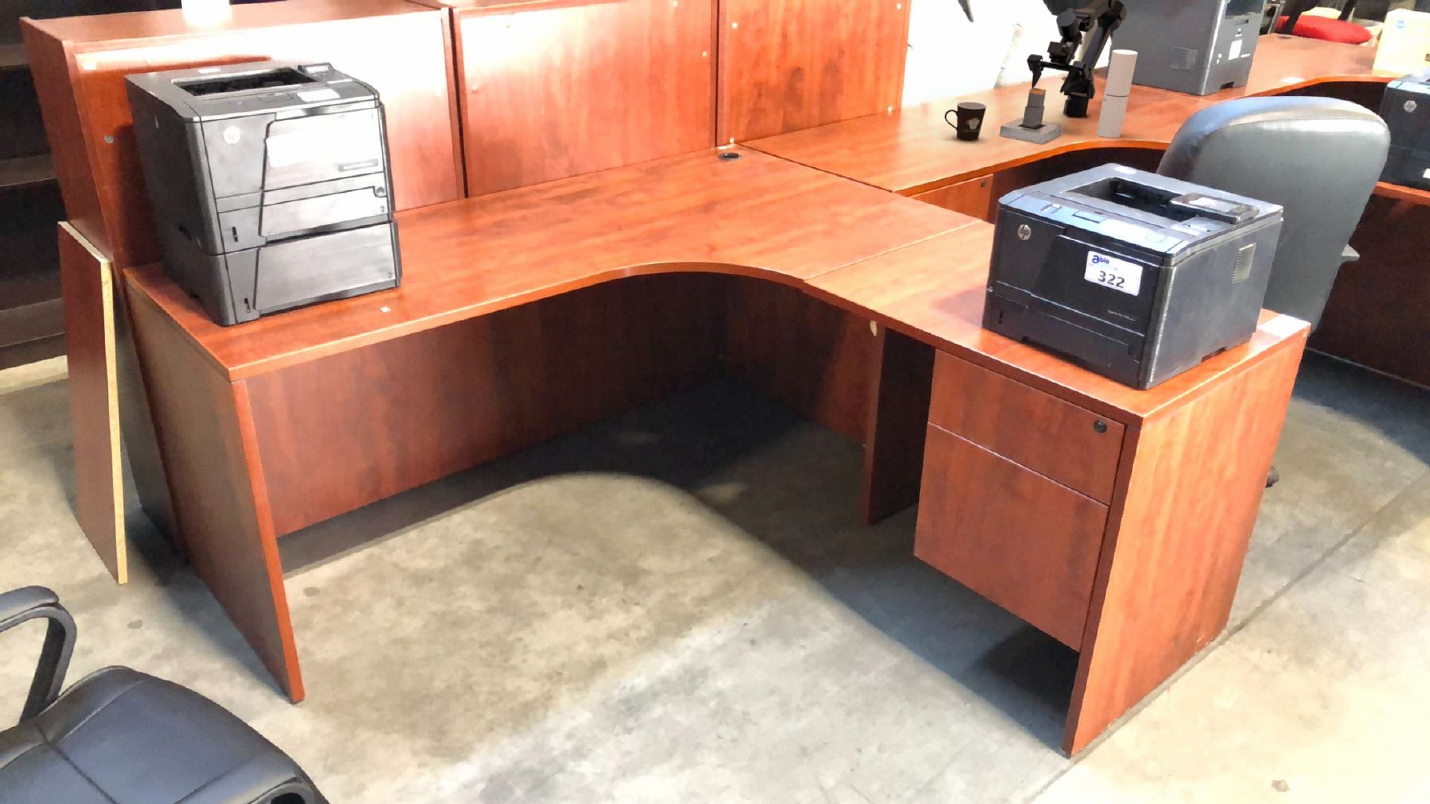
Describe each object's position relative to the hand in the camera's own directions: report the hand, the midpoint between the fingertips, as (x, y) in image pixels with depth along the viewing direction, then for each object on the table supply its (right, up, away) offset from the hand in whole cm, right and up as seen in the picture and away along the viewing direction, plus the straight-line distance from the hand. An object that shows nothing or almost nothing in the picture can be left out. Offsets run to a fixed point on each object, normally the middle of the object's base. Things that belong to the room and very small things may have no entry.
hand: (1046, 89), depth 321 cm
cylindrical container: (+21, -13, +4) cm, 25 cm away
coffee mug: (-26, -15, -2) cm, 31 cm away
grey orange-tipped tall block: (-4, -14, +2) cm, 14 cm away
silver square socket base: (-4, -14, +2) cm, 14 cm away
